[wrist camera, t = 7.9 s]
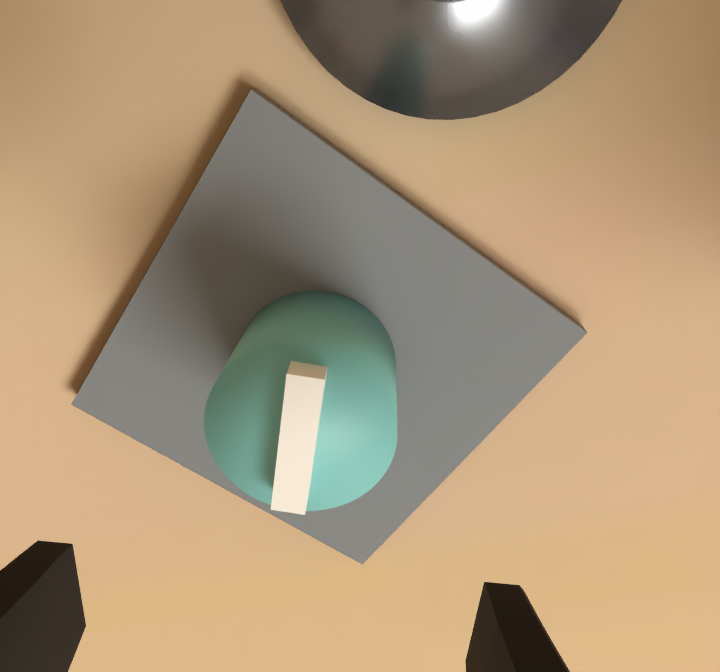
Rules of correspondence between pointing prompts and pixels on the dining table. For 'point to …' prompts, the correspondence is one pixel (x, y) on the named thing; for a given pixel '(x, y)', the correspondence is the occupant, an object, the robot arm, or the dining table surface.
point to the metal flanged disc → (448, 49)
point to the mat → (332, 274)
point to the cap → (306, 404)
